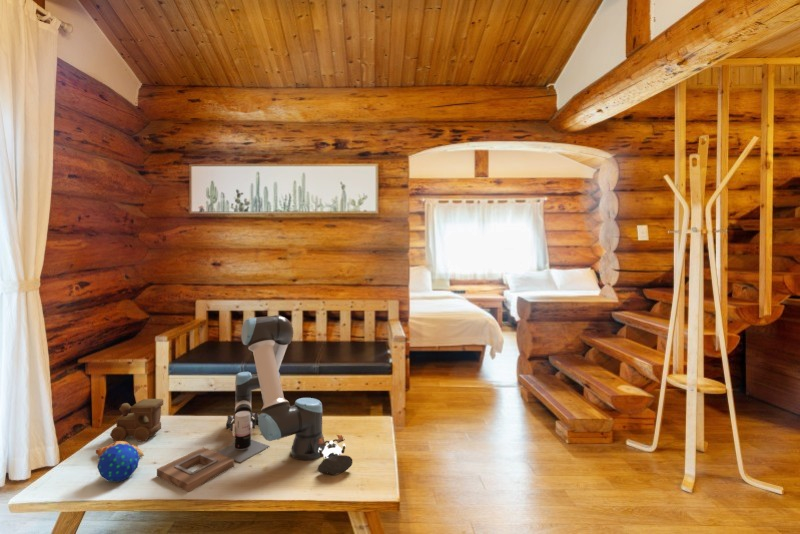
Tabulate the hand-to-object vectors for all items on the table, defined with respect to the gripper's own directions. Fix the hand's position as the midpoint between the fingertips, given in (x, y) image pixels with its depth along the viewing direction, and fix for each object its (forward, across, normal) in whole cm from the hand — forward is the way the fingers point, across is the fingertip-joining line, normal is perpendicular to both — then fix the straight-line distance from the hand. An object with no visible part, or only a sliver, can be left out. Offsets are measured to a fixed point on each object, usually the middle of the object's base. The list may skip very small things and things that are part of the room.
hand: (242, 431), depth 175 cm
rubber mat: (-5, 0, -11) cm, 12 cm away
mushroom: (+2, +45, -11) cm, 47 cm away
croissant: (-16, +49, -11) cm, 53 cm away
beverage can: (-5, 0, -9) cm, 11 cm away
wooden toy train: (-35, +47, -11) cm, 59 cm away
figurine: (+21, -36, -11) cm, 43 cm away
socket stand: (+7, +17, -10) cm, 21 cm away
